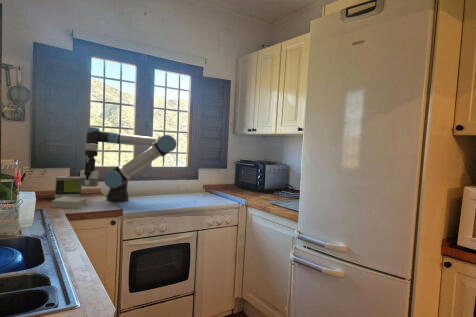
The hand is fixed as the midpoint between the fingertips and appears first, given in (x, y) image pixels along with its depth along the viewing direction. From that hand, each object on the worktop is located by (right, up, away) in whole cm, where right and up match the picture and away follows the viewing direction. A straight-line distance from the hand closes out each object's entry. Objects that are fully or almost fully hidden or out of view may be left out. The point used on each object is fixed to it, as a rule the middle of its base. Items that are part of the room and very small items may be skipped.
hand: (88, 184), depth 203 cm
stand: (-2, -11, -19) cm, 23 cm away
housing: (0, -1, 0) cm, 1 cm away
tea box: (-16, -10, +3) cm, 19 cm away
